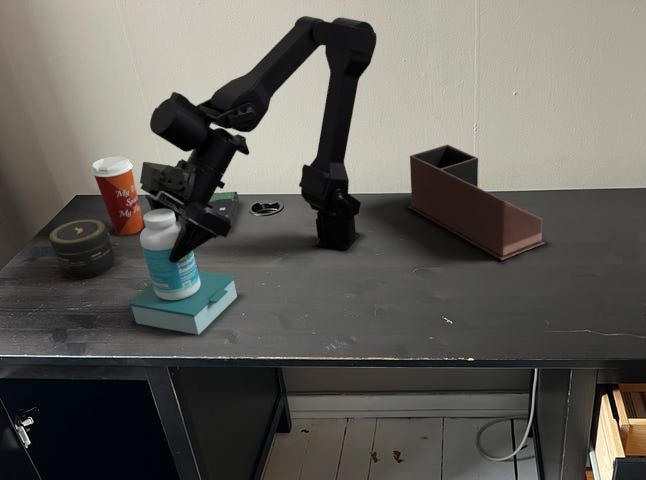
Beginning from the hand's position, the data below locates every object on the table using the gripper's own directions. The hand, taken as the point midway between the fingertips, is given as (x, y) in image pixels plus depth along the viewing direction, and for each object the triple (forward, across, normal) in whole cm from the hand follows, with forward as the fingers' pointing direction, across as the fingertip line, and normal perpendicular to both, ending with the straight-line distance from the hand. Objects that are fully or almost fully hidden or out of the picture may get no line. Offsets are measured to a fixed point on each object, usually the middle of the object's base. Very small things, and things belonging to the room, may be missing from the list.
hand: (160, 253), depth 115 cm
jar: (+11, -27, +5) cm, 29 cm away
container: (+7, 0, +9) cm, 12 cm away
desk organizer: (-32, +13, +49) cm, 60 cm away
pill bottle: (+4, 0, +6) cm, 8 cm away
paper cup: (+2, -37, +14) cm, 40 cm away
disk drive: (-8, -28, +24) cm, 38 cm away
